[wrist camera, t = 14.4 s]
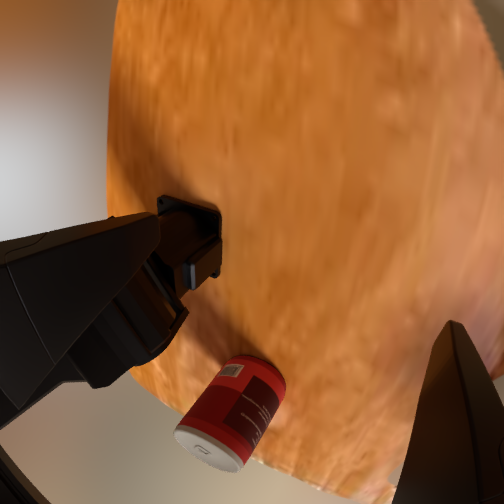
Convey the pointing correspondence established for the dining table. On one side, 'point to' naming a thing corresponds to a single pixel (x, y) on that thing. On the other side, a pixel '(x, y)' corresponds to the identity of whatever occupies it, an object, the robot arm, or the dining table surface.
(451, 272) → the dining table surface
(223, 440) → the canned food
